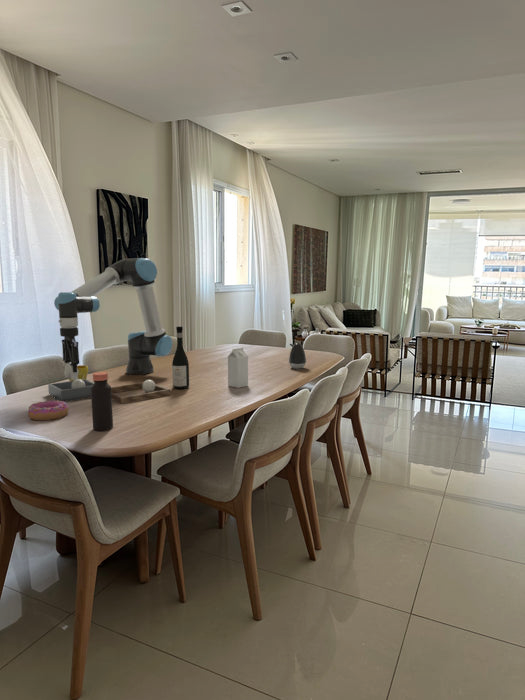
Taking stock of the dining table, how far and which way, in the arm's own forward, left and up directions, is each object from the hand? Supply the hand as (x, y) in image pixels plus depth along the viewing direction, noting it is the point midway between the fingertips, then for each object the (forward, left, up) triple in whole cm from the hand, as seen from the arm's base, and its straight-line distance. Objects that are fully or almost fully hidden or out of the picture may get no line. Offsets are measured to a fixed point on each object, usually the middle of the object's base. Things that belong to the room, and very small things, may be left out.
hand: (71, 378), depth 214 cm
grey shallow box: (-1, -2, -8) cm, 9 cm away
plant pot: (-9, -19, -9) cm, 22 cm away
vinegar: (+9, +54, -9) cm, 56 cm away
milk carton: (-69, +33, -9) cm, 77 cm away
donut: (+18, +25, -9) cm, 33 cm away
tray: (-23, +16, -8) cm, 29 cm away
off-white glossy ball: (-4, -2, -7) cm, 8 cm away
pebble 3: (-30, +16, -8) cm, 35 cm away
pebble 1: (0, 0, 0) cm, 0 cm away
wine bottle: (-46, +17, -9) cm, 50 cm away
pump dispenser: (-125, +19, -9) cm, 127 cm away
